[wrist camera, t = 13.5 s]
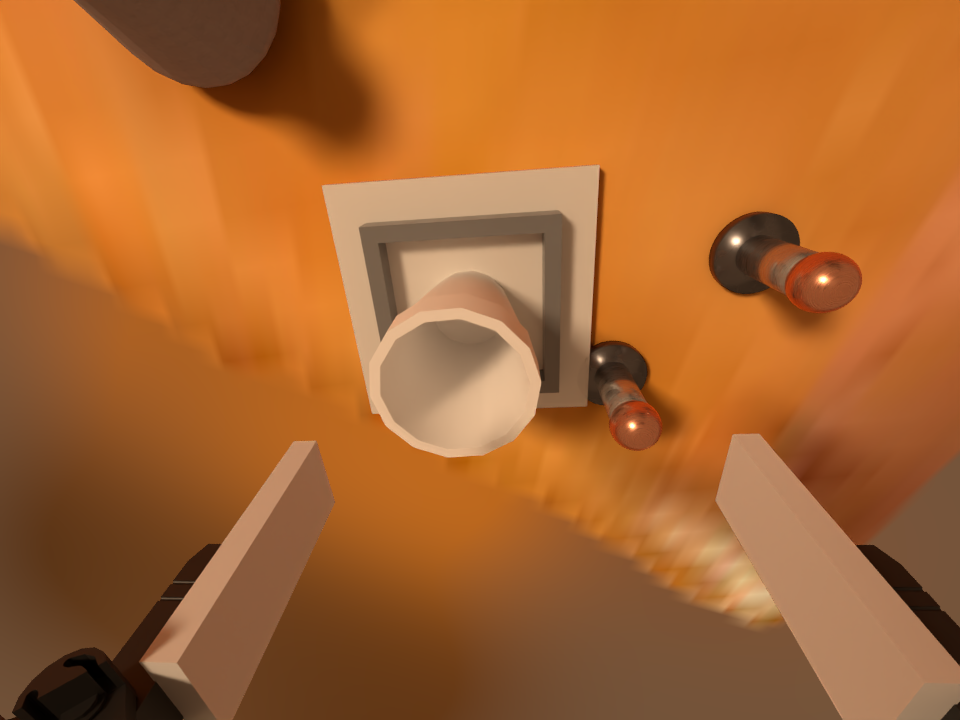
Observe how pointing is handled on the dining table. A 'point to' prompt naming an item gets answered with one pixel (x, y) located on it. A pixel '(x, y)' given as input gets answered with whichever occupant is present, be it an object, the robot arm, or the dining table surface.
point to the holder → (477, 256)
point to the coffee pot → (192, 35)
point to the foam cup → (456, 370)
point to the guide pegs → (742, 269)
